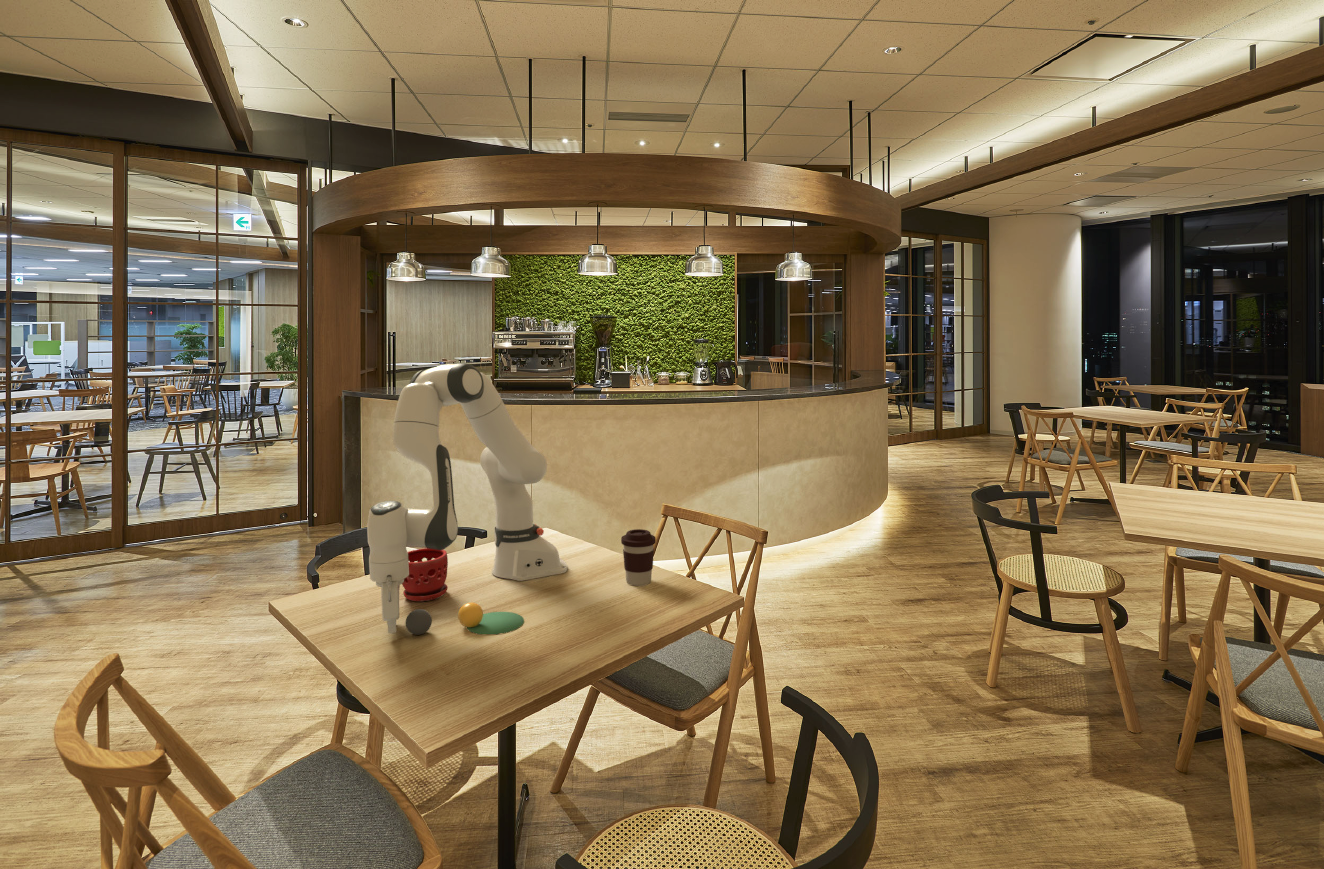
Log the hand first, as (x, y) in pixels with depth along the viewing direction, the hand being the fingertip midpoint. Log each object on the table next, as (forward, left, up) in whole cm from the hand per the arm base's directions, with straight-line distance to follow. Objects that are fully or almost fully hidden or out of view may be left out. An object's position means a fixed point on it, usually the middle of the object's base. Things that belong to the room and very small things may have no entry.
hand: (392, 624), depth 172 cm
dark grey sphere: (-6, +4, +1) cm, 7 cm away
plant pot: (-8, -22, -2) cm, 23 cm away
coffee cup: (-67, -12, -2) cm, 68 cm away
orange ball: (-18, +4, +1) cm, 19 cm away
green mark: (-24, +4, -2) cm, 24 cm away
